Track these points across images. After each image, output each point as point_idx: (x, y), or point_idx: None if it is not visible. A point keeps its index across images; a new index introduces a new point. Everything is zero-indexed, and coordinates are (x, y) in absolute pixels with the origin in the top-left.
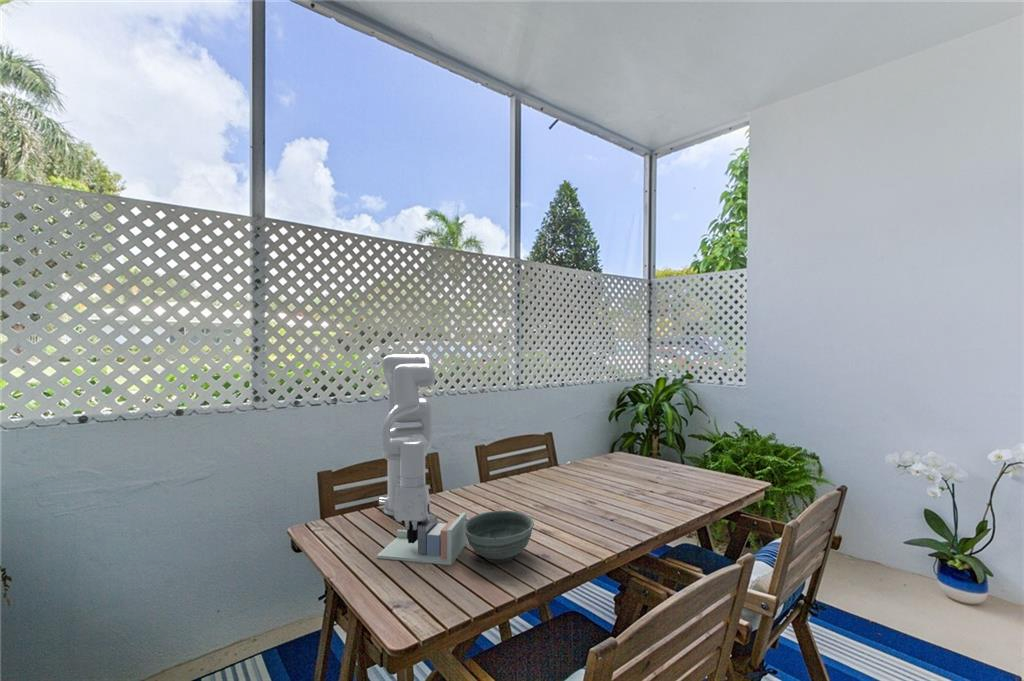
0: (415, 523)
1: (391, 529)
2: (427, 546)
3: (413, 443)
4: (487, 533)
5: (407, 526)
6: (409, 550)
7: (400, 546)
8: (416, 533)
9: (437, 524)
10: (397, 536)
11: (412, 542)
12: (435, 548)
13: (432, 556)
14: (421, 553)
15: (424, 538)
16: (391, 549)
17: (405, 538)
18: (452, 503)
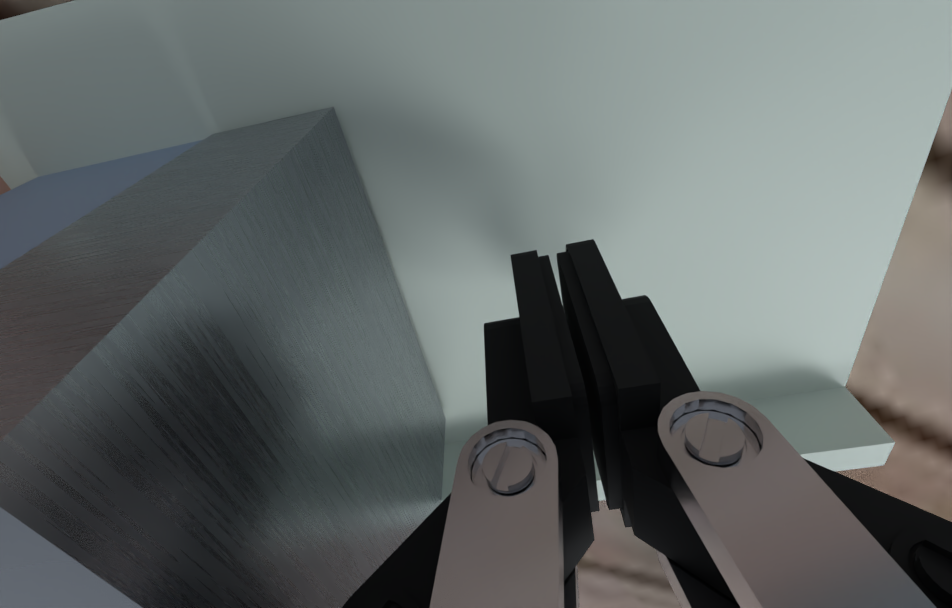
0: (488, 598)
1: (940, 480)
2: (120, 189)
3: None
4: None
5: (728, 465)
6: (538, 175)
7: (718, 226)
8: (489, 393)
9: None
10: (845, 392)
11: (519, 255)
12: (3, 209)
13: (115, 142)
14: (272, 121)
15: (69, 244)
16: (821, 96)
17: (737, 391)
18: None
